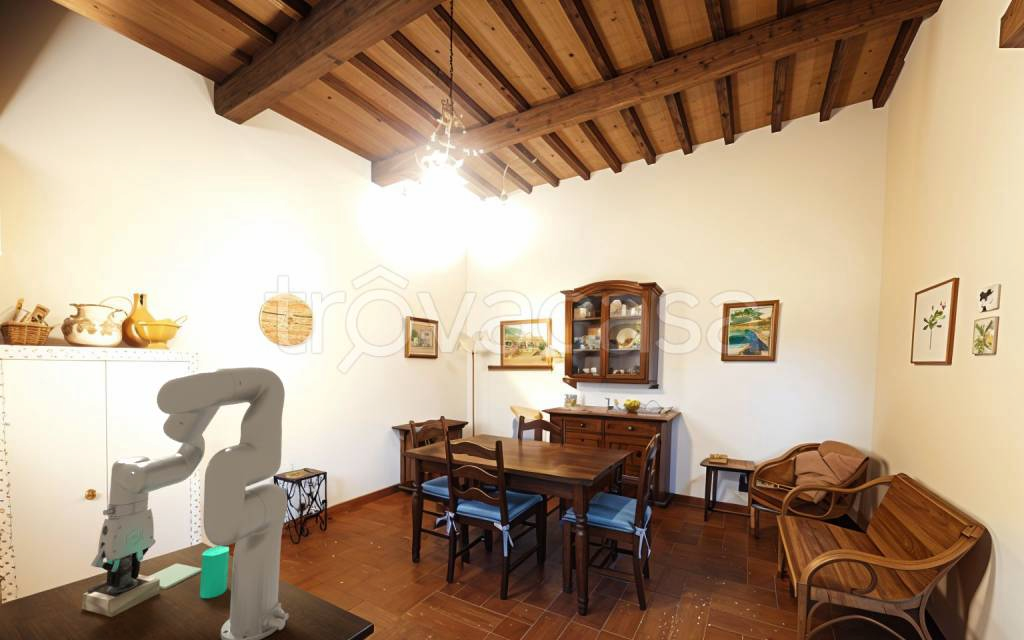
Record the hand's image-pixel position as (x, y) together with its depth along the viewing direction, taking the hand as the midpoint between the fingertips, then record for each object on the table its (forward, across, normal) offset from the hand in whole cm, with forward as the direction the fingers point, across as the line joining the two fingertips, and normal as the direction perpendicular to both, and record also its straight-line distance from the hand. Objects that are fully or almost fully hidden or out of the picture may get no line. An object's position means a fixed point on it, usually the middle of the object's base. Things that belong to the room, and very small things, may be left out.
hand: (123, 580), depth 109 cm
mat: (+5, +12, 0) cm, 13 cm away
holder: (+5, 0, 0) cm, 5 cm away
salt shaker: (+5, 0, 0) cm, 5 cm away
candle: (+5, +10, -18) cm, 21 cm away
